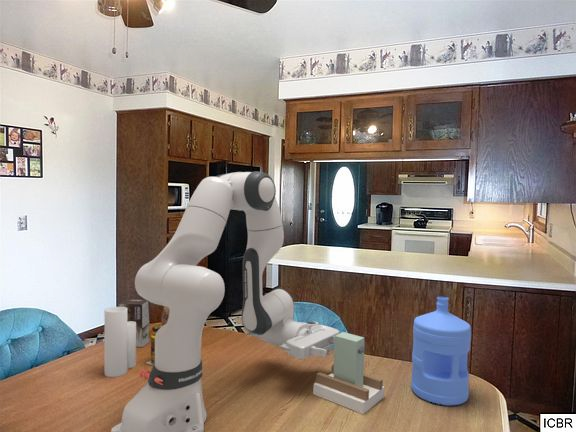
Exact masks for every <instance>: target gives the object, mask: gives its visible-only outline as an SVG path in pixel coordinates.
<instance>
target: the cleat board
mask: <svg viewBox="0 0 576 432" xmlns="http://www.w3.org/2000/svg"><path fill="white" fill-rule="evenodd" d="M383 381H384V380H383V379H382V378H380V377H376V376H373V375H369V374H367V373H364V374H363V387H360V386H357V385H354V384H351V383H349V382H346V381H343V380H340V379H337V378H334V363H333V364H331V373H330V374H326V373H323V372H319V371H318V372H317V373H316V377H315V382H314V383H313V389H312V390H313V392H312V394H313V395H315V397H316V396H317V397H320V398H322V399H324V400H327V401H329V402H332V403H334V404H337V405H339V406H343V407H344V408H347V409H350V410H352V411H355V412H357V413H359V414H362V415H364V414H365V413H367V412H368V411H369V410H370V409H372V408H373V407H374V406H375V405H376V404H378V403H379V402H380V401H381V400H382V399H384V398H385V386H383Z"/></svg>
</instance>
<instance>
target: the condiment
mask: <svg viewBox="0 0 576 432" xmlns="http://www.w3.org/2000/svg"><path fill="white" fill-rule="evenodd" d="M162 326H164V325H163V324H162V323H161V324H156V325H154V326H152V328H151V329H152V330H151V331H152V332H151V334H150V360H148V361H147V362H146V364H147V365H151V366H153V365H154V363H155V335H156V333H157V331H158V330H159V329H160V328H161V327H162Z"/></svg>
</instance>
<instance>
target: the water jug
mask: <svg viewBox="0 0 576 432" xmlns="http://www.w3.org/2000/svg"><path fill="white" fill-rule="evenodd" d="M436 299H437V301H436V309H435V310H434V311H431V312H428V313H425V314H422V315H418V316H416V317H415V318H414V319H413V325H412V326H413V327H412V332H413V333H412V334H413V337H412V338H413V340H412V342H413V343H412V354H411V362H412V363H411V364H412V369H411V370H412V371H411V374H412V375H411V380H410V381H411V382H410V387H411V390H412V392H413V393H414V394H415V395H416V396H417V397H419V398H420V399H422V400H425V401H426V402H429V403H431V402H432V403H431V404H435V403H436V405H440V404H441V406H459V405H462V404H464V403H466V402H467V401H468V399H469V397H470V396H469V395H470V390H469V389H470V388H469V383H470V381H469V380H470V379H469V378H470V373H469V371H468V353H469V352H470V351H471V341H472V328H471V325H470V324H469V323H468V322H467V321H465V320H463V319H461V318H459V317H458V316H457V315H454V314H452V313H450V311H449V297H446V296H437V297H436Z"/></svg>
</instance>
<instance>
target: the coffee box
mask: <svg viewBox="0 0 576 432" xmlns="http://www.w3.org/2000/svg"><path fill="white" fill-rule="evenodd" d="M118 307H126V308H127V322H129V321H133V322H136V348H144V347H145V346H146V345H147V344H149V343H151V335H150V302H149V301H148V300H146V299H129V298H127V299H126V300H123V301H122V302H120V303H119V305H118Z"/></svg>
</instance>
